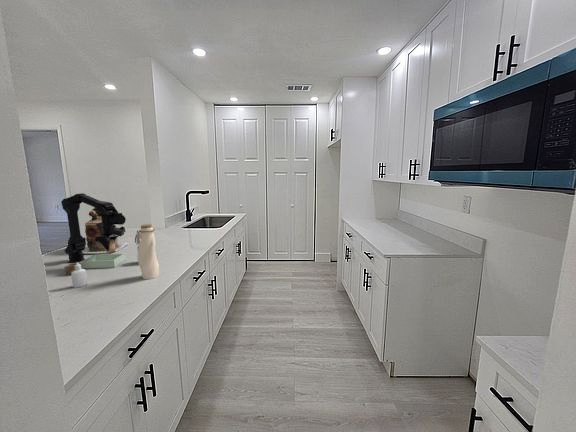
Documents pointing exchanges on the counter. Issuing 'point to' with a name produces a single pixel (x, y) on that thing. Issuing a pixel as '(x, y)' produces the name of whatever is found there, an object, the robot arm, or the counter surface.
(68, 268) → the walnut cube
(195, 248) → the counter surface
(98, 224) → the cookie jar
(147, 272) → the water bottle
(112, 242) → the egg
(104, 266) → the box
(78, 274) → the eye dropper bottle
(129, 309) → the counter surface
